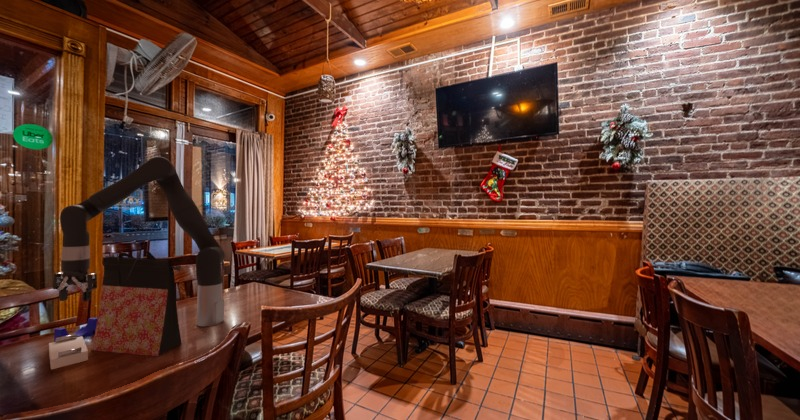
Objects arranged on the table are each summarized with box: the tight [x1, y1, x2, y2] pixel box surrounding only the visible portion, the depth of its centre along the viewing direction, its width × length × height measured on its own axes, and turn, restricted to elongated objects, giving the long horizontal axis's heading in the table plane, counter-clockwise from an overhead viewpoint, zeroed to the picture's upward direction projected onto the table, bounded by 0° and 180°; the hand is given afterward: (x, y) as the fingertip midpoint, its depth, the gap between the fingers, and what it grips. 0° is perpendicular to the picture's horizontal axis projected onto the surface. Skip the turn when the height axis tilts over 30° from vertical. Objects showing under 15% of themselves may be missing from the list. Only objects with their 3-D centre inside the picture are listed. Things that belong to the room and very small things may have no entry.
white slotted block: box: [48, 333, 89, 370], centre depth 103 cm, size 8×17×4 cm, turn 50°
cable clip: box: [53, 317, 98, 342], centre depth 117 cm, size 12×4×6 cm, turn 170°
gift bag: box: [90, 251, 182, 357], centre depth 110 cm, size 29×14×35 cm, turn 84°
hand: (74, 300), depth 117 cm, fingers open, 8 cm apart
